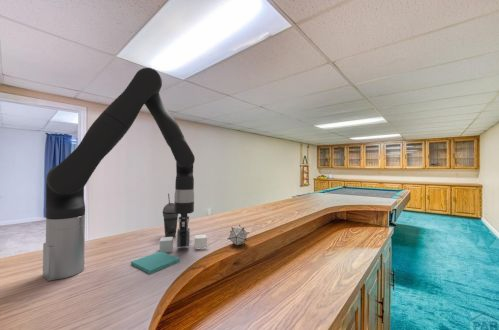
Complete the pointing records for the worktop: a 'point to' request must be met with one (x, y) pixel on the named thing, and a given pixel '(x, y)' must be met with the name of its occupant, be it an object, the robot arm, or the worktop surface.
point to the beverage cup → (170, 219)
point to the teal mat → (155, 262)
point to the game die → (238, 235)
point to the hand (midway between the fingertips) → (183, 243)
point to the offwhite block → (200, 241)
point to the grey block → (166, 244)
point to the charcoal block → (186, 238)
